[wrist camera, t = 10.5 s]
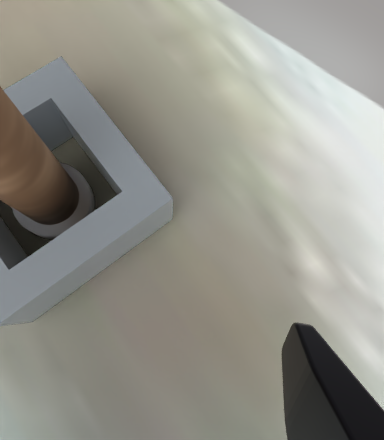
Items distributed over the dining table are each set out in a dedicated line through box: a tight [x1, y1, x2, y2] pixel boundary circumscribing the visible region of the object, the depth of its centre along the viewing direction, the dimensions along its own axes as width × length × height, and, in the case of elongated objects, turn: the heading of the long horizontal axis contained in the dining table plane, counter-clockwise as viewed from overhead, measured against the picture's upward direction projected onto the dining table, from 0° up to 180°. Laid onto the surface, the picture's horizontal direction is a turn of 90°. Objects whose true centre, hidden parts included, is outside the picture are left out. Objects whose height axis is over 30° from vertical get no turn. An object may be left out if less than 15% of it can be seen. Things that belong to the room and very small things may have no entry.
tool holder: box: [0, 57, 173, 326], centre depth 20 cm, size 10×10×4 cm
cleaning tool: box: [0, 87, 95, 240], centre depth 16 cm, size 4×4×13 cm
